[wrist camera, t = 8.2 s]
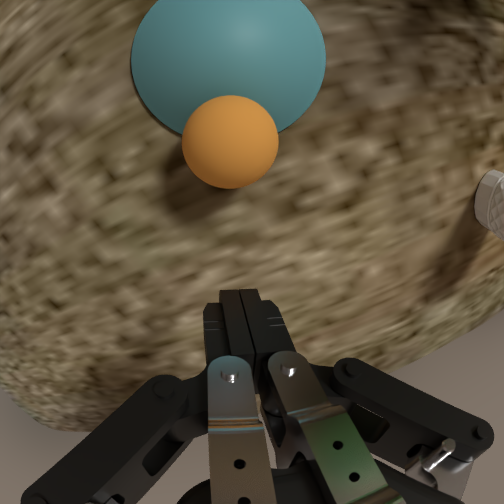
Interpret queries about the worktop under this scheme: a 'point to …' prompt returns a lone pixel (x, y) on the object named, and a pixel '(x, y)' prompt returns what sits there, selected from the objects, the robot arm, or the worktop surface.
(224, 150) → the ball
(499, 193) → the white cup
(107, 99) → the worktop surface
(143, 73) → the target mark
